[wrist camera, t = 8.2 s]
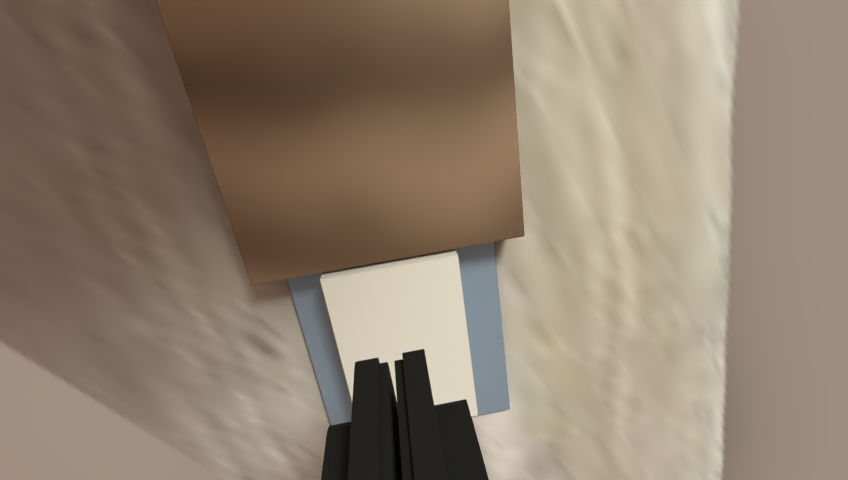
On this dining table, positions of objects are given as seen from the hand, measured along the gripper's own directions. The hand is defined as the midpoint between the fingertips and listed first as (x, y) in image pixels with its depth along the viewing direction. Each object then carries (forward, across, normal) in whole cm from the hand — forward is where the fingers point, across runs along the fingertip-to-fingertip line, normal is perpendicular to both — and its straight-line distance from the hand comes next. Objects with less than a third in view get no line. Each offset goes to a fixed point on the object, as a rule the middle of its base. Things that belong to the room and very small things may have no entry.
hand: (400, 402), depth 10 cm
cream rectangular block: (+10, 0, +5) cm, 12 cm away
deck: (+11, 0, -8) cm, 13 cm away
